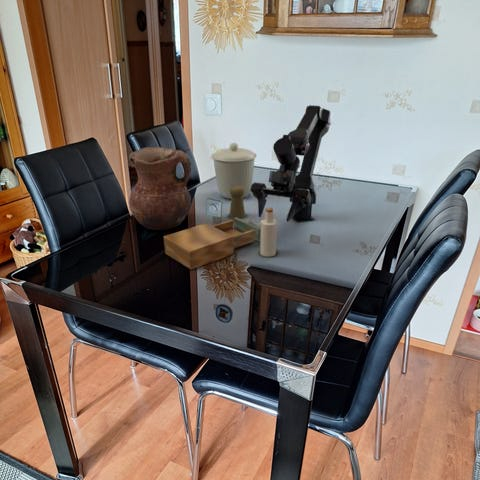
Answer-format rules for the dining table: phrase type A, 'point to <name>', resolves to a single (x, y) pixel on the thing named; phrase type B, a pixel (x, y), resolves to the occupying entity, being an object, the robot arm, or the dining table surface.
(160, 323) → the dining table surface
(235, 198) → the pepper mill
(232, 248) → the wooden box
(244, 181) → the canister
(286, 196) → the robot arm
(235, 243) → the drawer
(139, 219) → the jug
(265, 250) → the bottle
